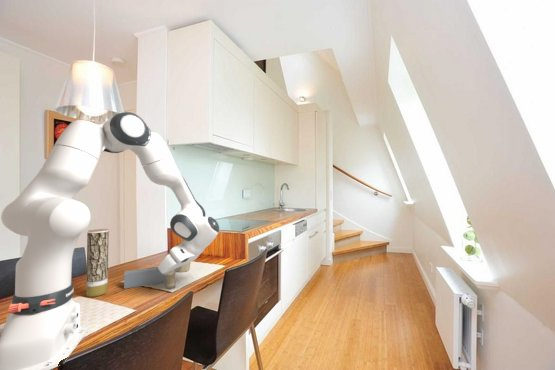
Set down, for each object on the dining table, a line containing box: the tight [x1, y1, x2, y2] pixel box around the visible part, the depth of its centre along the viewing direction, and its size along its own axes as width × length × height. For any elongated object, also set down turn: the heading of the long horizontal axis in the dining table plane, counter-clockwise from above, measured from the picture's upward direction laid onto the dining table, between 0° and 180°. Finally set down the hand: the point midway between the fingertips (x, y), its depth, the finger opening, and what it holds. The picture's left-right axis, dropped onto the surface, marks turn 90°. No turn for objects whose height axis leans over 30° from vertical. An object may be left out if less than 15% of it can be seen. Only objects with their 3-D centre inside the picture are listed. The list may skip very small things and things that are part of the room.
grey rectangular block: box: [123, 266, 166, 290], centre depth 108 cm, size 16×4×6 cm, turn 119°
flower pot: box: [175, 262, 191, 273], centre depth 126 cm, size 9×9×9 cm
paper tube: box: [85, 228, 110, 298], centre depth 98 cm, size 7×7×25 cm
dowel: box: [165, 269, 176, 290], centre depth 104 cm, size 4×4×12 cm
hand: (169, 271), depth 104 cm, fingers closed on dowel, 4 cm apart
